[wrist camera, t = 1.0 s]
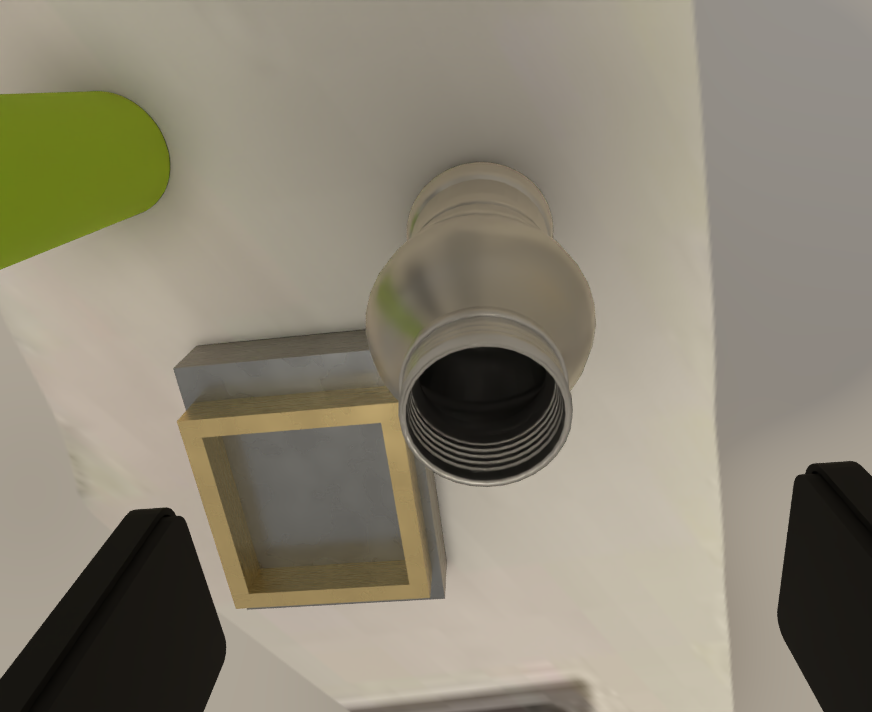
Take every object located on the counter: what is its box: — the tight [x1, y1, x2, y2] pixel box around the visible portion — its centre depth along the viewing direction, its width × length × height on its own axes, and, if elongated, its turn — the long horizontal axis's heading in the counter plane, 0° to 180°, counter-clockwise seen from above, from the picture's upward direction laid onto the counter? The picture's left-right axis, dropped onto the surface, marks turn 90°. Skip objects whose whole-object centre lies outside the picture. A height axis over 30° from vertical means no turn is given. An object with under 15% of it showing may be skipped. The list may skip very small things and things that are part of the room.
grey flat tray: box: [173, 330, 447, 609], centre depth 36 cm, size 16×12×5 cm
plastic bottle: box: [366, 162, 596, 487], centre depth 23 cm, size 6×7×20 cm
